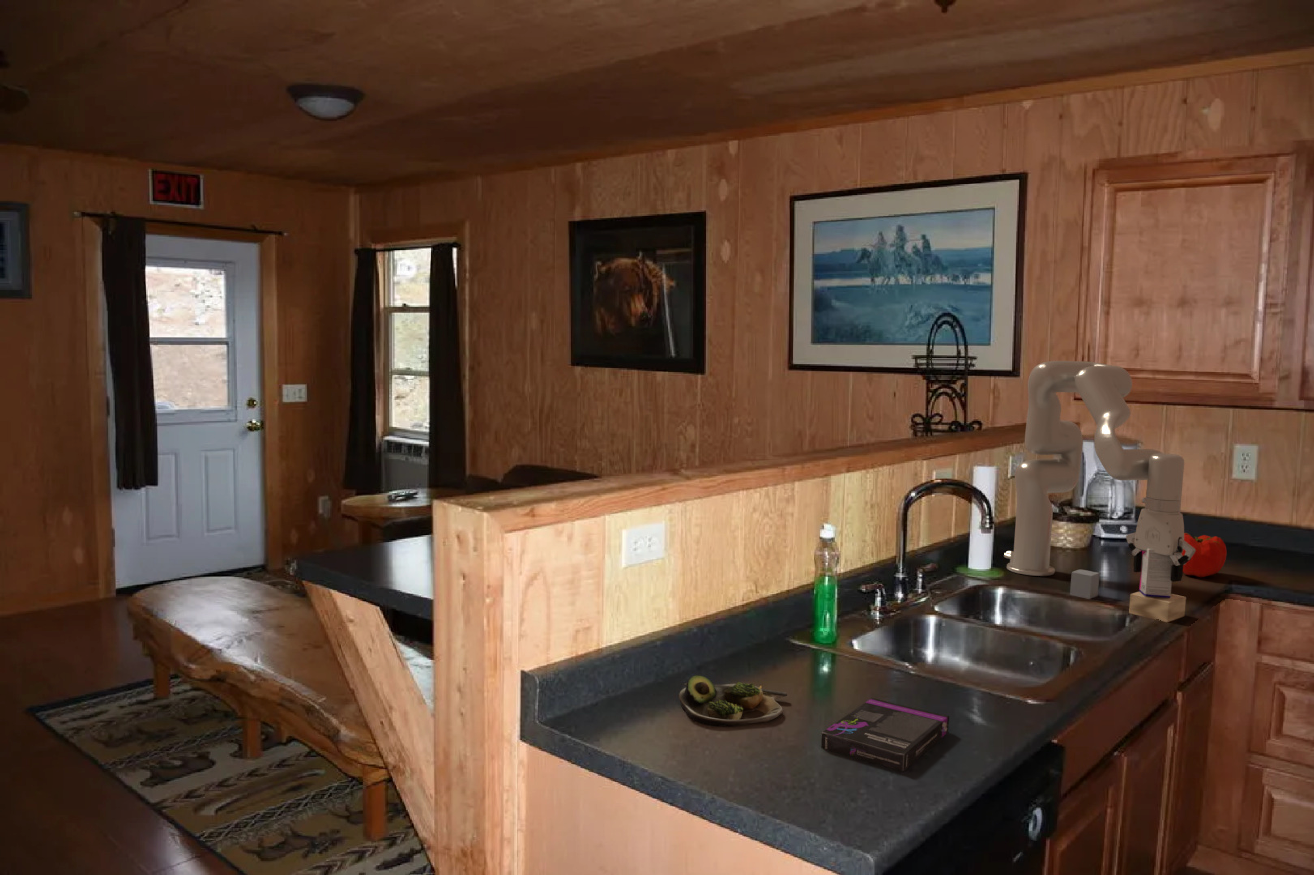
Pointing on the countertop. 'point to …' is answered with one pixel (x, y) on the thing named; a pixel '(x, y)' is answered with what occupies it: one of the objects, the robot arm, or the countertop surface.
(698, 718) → the avocado toast plate
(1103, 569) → the countertop surface
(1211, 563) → the tomato
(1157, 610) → the maple block
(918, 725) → the box
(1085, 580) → the slate block
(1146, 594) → the supplement box
